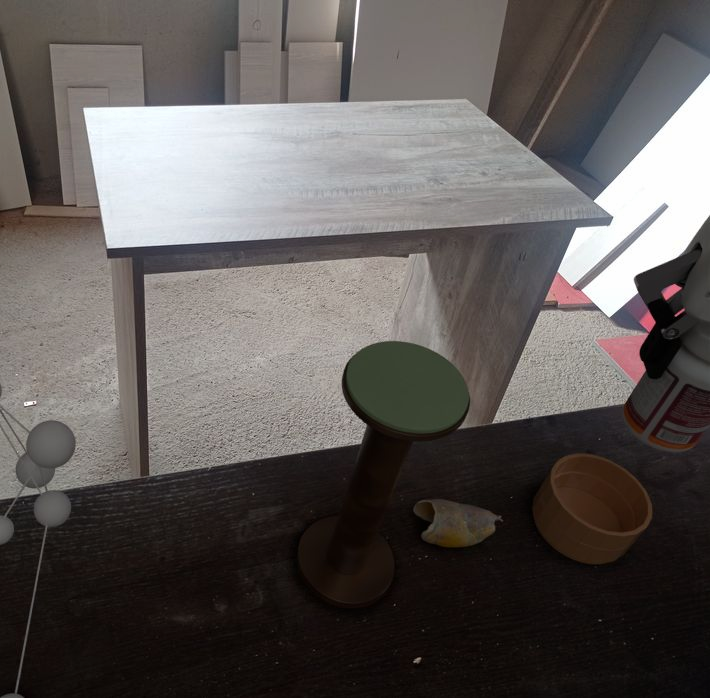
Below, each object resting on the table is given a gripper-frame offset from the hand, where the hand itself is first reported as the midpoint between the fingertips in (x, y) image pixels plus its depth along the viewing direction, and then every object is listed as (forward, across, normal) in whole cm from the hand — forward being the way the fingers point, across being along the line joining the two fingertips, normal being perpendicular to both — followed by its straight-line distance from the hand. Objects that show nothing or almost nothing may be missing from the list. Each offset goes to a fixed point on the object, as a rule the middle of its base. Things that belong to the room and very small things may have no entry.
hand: (694, 373), depth 57 cm
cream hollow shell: (+22, -13, -3) cm, 26 cm away
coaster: (-2, -23, -9) cm, 25 cm away
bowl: (+22, 0, +1) cm, 22 cm away
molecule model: (+23, -54, -18) cm, 61 cm away
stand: (+22, -23, -9) cm, 33 cm away
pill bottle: (+7, 0, 0) cm, 7 cm away
